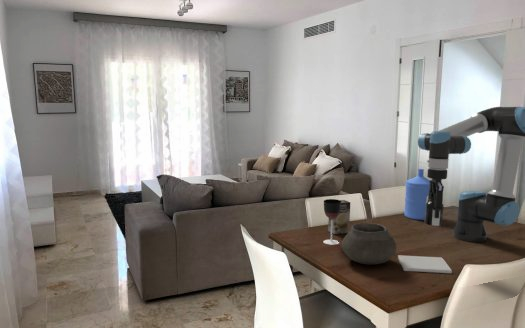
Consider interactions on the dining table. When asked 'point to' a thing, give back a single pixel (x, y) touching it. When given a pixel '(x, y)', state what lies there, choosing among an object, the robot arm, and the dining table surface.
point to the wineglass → (332, 215)
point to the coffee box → (341, 219)
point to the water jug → (416, 196)
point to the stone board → (424, 264)
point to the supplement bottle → (431, 211)
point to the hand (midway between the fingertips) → (433, 222)
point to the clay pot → (369, 244)
